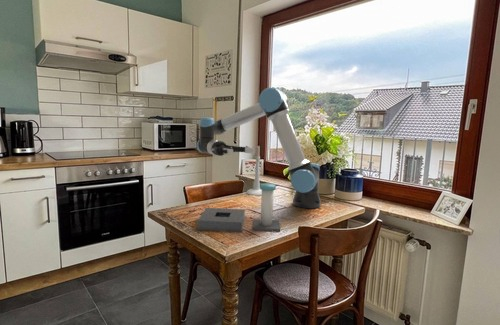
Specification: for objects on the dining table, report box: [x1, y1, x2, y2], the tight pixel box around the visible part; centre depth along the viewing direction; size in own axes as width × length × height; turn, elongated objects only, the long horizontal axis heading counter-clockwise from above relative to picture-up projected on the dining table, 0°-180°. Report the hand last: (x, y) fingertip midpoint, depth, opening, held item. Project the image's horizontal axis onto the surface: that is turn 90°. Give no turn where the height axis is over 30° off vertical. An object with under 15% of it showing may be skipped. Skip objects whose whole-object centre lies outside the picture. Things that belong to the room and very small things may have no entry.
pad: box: [252, 218, 281, 232], centre depth 127 cm, size 11×11×1 cm
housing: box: [197, 207, 246, 233], centre depth 129 cm, size 18×18×4 cm
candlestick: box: [245, 145, 262, 197], centre depth 184 cm, size 13×13×30 cm
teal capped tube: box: [260, 182, 277, 226], centre depth 126 cm, size 7×7×17 cm
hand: (243, 151), depth 140 cm, fingers open, 13 cm apart
